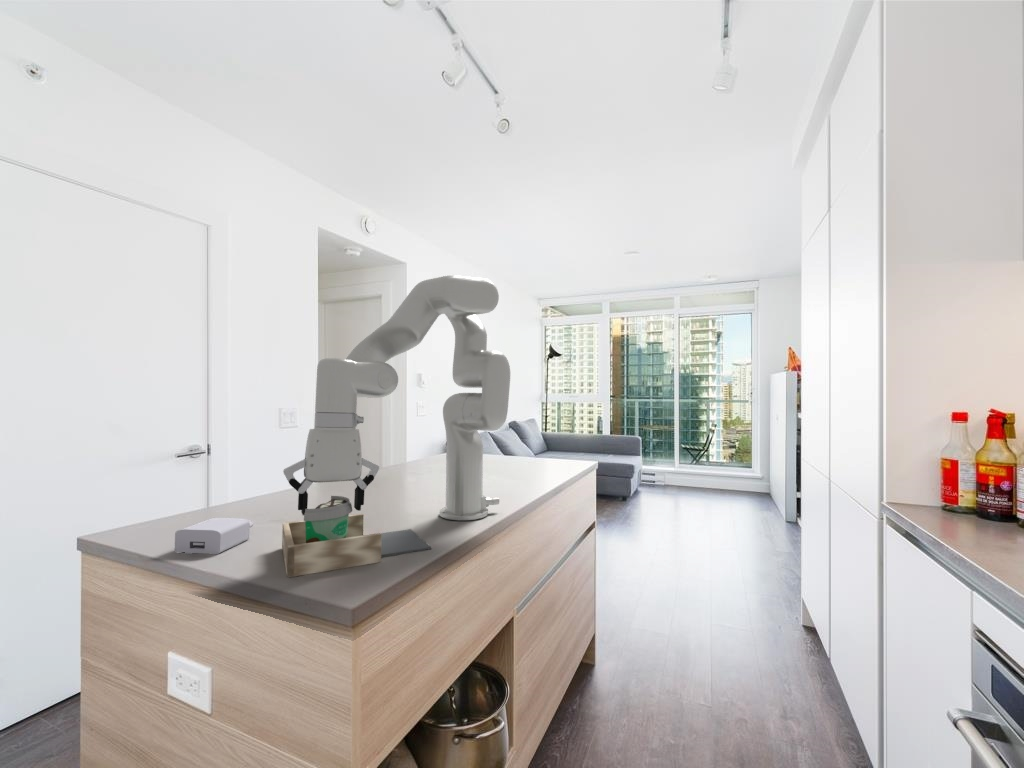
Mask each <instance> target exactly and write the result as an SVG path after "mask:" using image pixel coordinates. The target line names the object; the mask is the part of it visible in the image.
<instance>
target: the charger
mask: <svg viewBox="0 0 1024 768" xmlns="http://www.w3.org/2000/svg"><path fill="white" fill-rule="evenodd" d="M254 524H255V523H254V522H253V520H249V519H247V518H238V517H212V518H208V519H206V520H203V521H200V522H197V523H195V524H193V525H188V526H186V527H184V528H181V529H179V530H176V531H175V533H174V551H175V553H177V552H185V553H184V554H192V553H211V554H210V555H218V554H220V553H223V552H224V551H227V550H229V549H230V548H233V547H235V546H238V545H240V544H241V543H243V542H246V541H248V540H249V539H250V528H252V527H253V526H254Z"/></svg>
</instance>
